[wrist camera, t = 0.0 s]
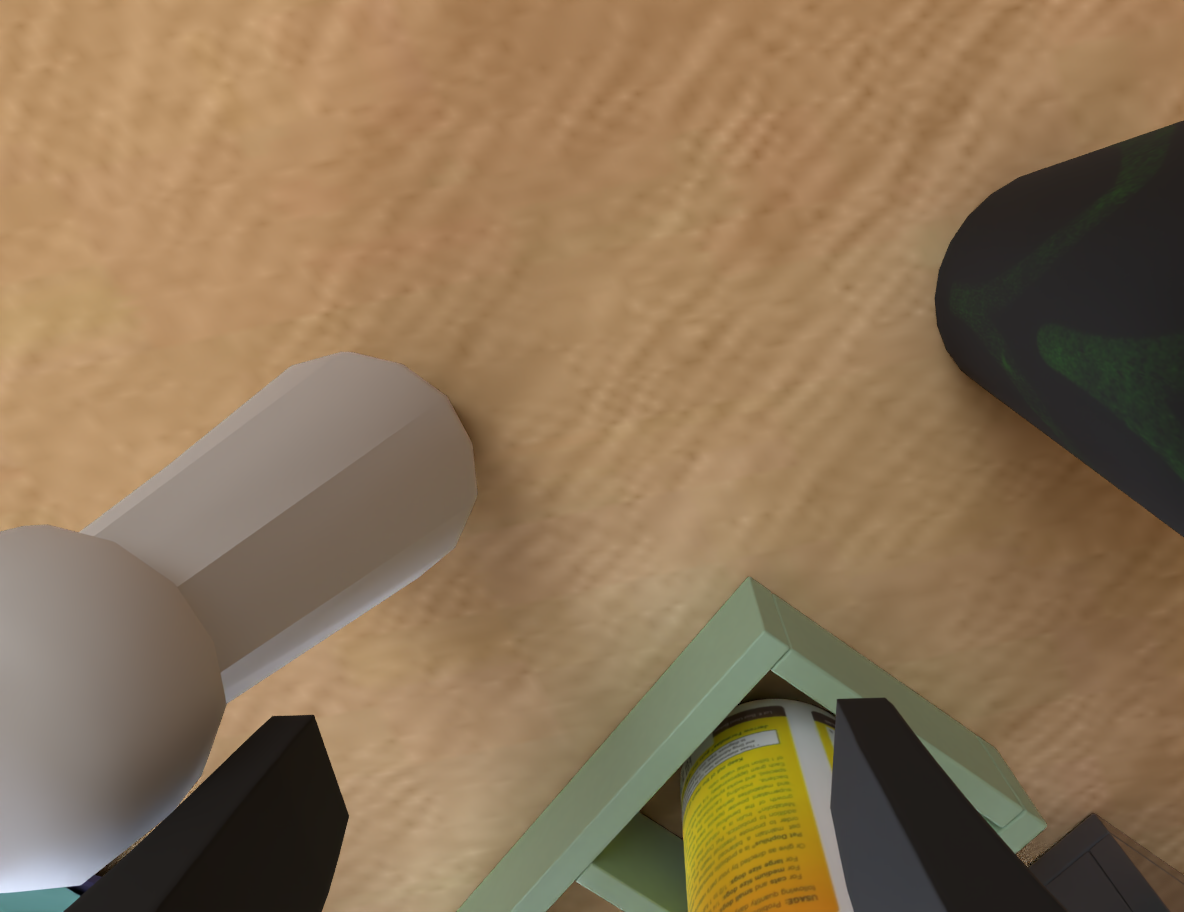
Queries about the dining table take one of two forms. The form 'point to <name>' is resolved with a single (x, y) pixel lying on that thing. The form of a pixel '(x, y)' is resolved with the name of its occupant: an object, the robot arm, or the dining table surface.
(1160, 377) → the cup
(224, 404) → the dining table surface
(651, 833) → the dish rack
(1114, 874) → the dark grey storage bin
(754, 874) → the supplement bottle
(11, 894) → the cutlery set
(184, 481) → the salt shaker
